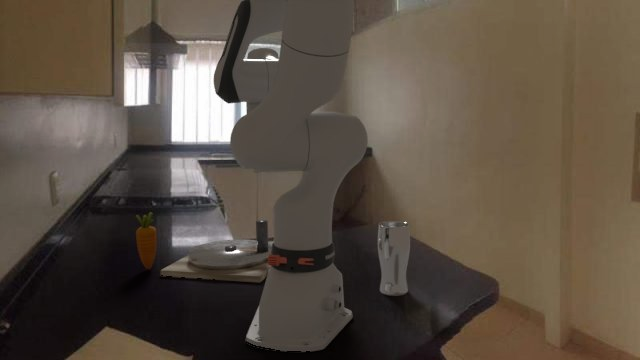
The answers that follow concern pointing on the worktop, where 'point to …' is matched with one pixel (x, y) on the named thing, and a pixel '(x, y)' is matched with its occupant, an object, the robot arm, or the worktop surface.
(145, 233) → the carrot
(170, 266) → the dial base
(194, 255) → the dial
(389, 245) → the beer glass
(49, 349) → the worktop surface
